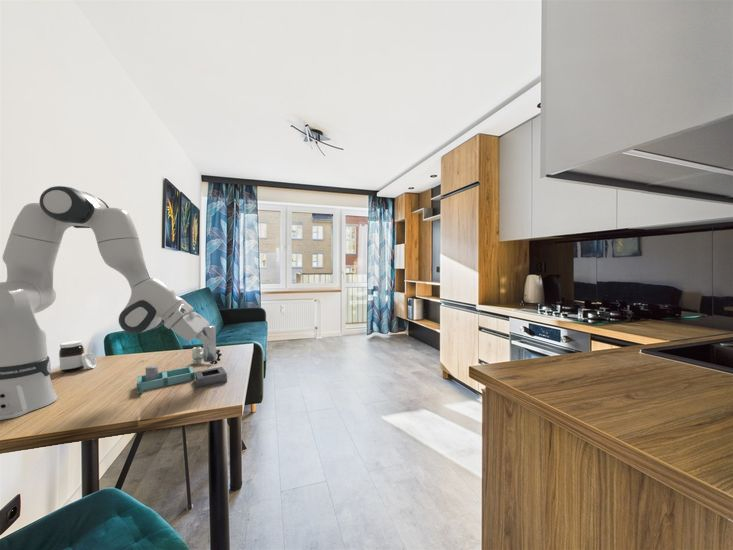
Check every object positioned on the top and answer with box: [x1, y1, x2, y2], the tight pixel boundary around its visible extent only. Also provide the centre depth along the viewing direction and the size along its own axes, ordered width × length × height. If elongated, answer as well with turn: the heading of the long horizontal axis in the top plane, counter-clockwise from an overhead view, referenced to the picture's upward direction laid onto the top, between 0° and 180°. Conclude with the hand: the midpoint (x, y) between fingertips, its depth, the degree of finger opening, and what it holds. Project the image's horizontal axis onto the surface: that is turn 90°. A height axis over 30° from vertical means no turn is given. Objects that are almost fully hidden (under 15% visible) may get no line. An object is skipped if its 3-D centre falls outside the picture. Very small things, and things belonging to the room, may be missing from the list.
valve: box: [191, 346, 222, 365], centre depth 135 cm, size 7×7×12 cm
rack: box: [136, 365, 196, 395], centre depth 112 cm, size 17×9×7 cm, turn 124°
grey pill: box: [202, 325, 217, 363], centre depth 111 cm, size 4×4×12 cm
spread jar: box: [58, 340, 97, 374], centre depth 131 cm, size 12×11×12 cm
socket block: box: [194, 366, 228, 389], centre depth 111 cm, size 9×9×4 cm
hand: (211, 340), depth 111 cm, fingers closed on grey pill, 4 cm apart
